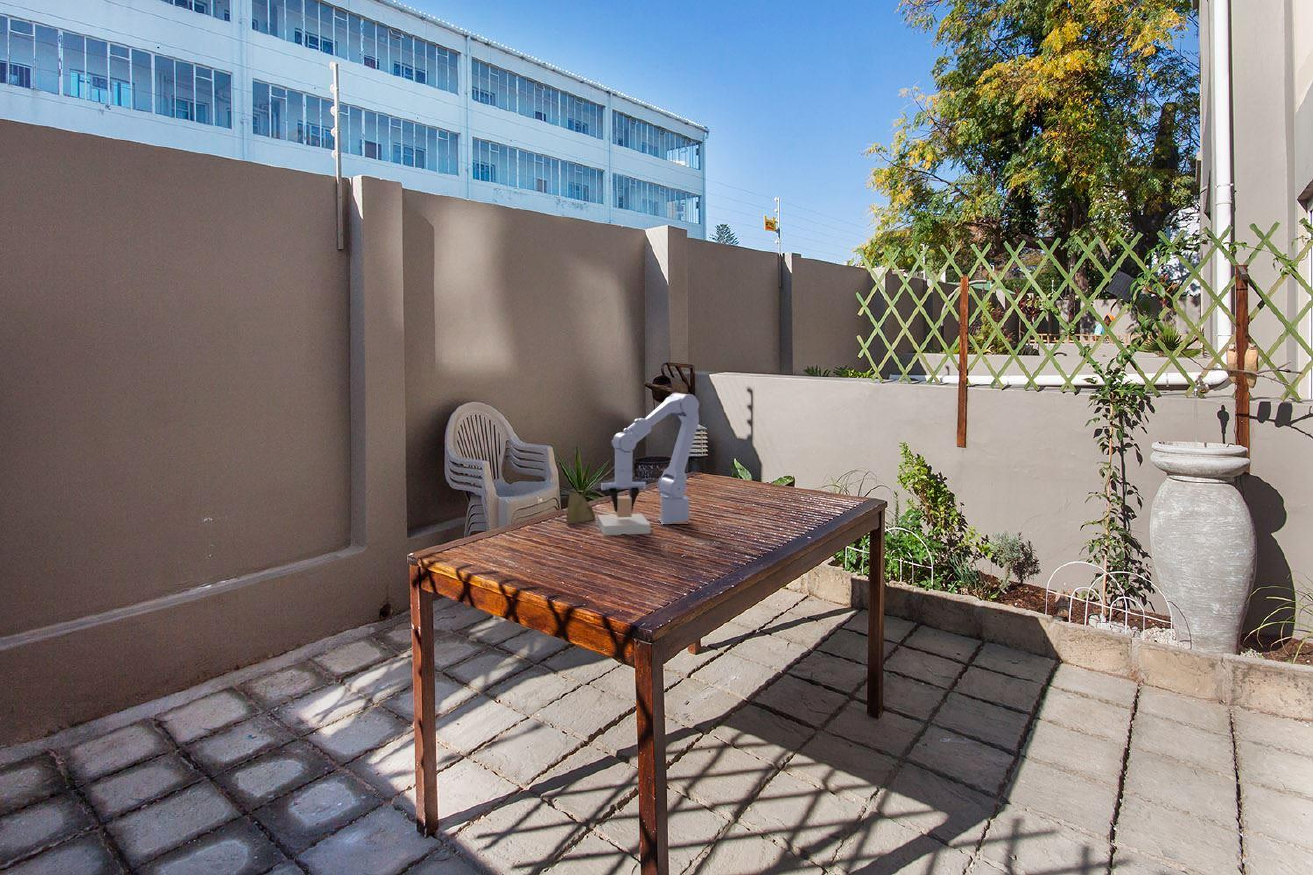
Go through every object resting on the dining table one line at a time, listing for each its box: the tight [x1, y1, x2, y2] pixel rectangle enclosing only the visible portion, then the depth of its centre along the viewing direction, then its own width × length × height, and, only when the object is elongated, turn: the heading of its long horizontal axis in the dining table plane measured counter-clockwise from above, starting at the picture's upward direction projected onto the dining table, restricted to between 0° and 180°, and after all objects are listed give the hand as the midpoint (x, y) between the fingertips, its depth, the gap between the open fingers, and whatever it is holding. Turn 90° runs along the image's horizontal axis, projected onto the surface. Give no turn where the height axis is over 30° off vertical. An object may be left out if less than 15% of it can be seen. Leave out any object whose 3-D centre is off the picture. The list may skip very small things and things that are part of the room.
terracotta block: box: [615, 495, 633, 517], centre depth 238 cm, size 4×4×6 cm
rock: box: [565, 492, 596, 525], centre depth 248 cm, size 11×9×10 cm
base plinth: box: [596, 513, 651, 536], centre depth 239 cm, size 15×15×3 cm
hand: (623, 510), depth 239 cm, fingers closed on terracotta block, 4 cm apart
